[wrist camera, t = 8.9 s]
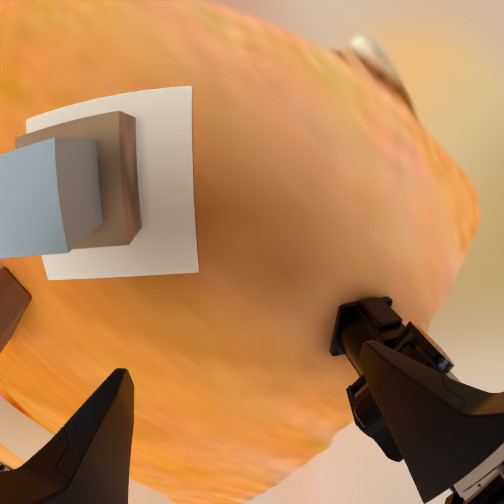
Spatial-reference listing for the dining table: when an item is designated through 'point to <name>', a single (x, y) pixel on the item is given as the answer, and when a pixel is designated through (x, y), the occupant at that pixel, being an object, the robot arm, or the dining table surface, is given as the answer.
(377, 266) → the dining table surface
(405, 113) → the dining table surface
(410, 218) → the dining table surface
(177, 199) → the felt mat
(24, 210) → the gray cube
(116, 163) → the walnut base
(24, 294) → the wooden block
